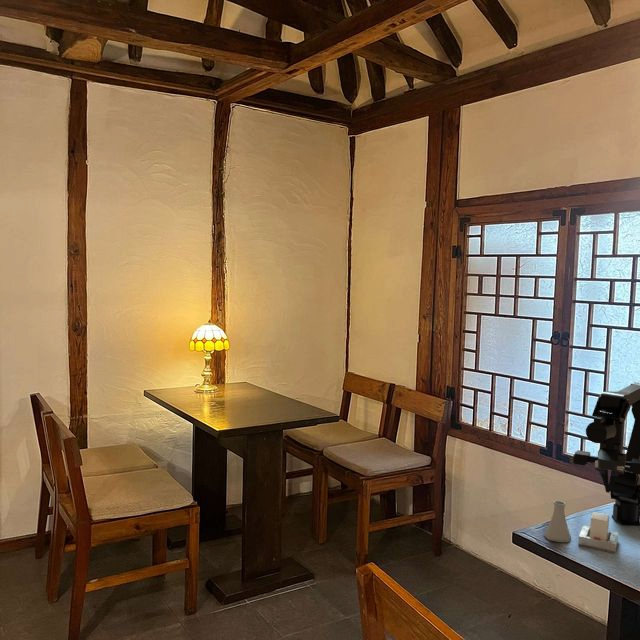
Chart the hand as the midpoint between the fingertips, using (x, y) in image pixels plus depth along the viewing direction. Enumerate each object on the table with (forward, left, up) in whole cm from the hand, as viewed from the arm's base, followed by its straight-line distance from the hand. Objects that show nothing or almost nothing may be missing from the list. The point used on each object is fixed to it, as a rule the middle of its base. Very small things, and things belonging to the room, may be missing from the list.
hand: (607, 492), depth 180 cm
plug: (+5, +7, -12) cm, 14 cm away
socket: (+5, +7, -12) cm, 15 cm away
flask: (+15, +4, -12) cm, 20 cm away
